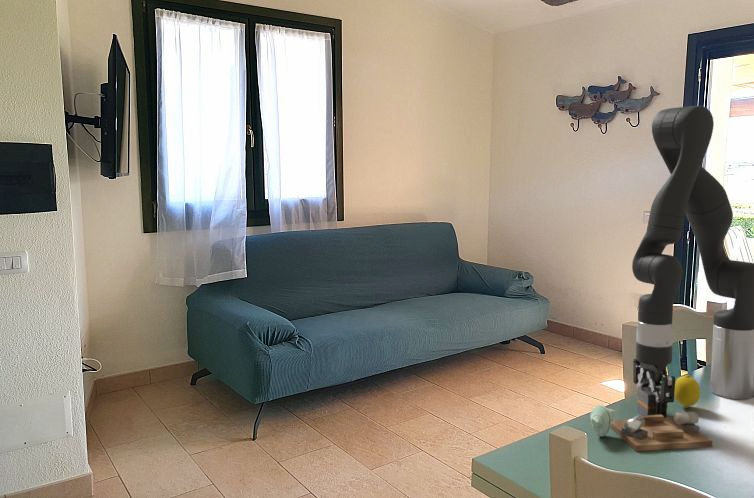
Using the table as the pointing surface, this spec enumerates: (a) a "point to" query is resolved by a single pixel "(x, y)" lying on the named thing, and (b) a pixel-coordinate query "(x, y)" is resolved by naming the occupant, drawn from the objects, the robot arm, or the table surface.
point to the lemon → (686, 391)
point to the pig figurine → (601, 419)
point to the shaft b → (635, 428)
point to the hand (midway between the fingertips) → (651, 410)
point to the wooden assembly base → (666, 432)
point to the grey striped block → (646, 401)
